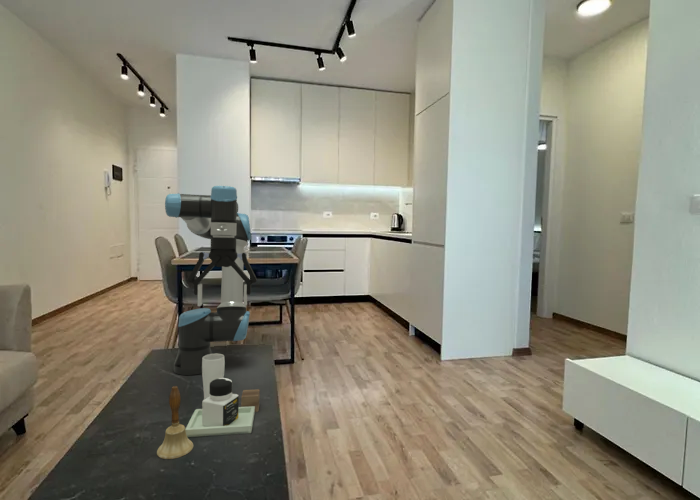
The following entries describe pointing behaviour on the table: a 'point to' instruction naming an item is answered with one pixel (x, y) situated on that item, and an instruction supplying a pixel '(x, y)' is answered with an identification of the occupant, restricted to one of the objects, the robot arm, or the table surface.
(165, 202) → the robot arm
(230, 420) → the medicine bottle
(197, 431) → the tray
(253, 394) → the walnut block
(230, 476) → the table surface
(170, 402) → the hand bell
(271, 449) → the table surface
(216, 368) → the drinking glass
